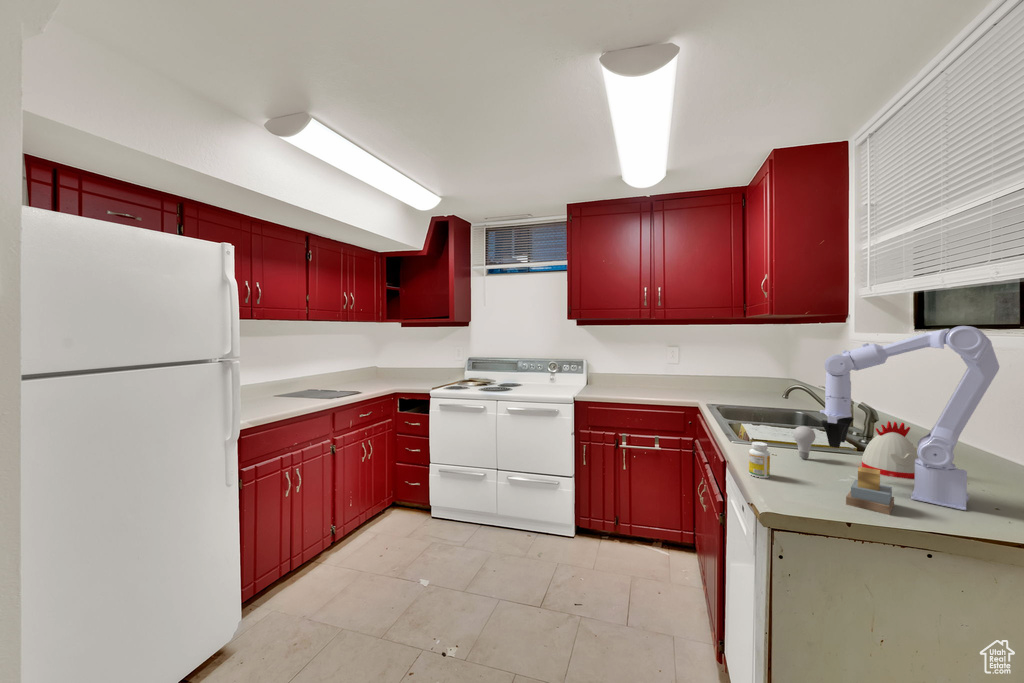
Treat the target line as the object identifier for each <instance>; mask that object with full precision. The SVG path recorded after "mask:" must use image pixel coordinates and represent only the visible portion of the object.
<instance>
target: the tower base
mask: <svg viewBox="0 0 1024 683" xmlns="http://www.w3.org/2000/svg"><path fill="white" fill-rule="evenodd" d="M845 505H847V506H850V507H854V508H859V509H863V510H865V511H866V510H867V511H870V512H876V513H879V514H884V515H888V516H890V515H891V512H892V511H893V508H894V506H895V496H892V498H891V501H890V504H889V505H884V504H880V503H875V502H871V501H866V500H862V499H857V498H853V497H851V490H849V492H848V494H846V496H845Z"/></svg>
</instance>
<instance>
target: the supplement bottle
mask: <svg viewBox="0 0 1024 683" xmlns="http://www.w3.org/2000/svg"><path fill="white" fill-rule="evenodd" d="M770 461H771V452H769V451H768V444H767V443H766V442H762V441H752V442H751V449H749V451H748V474H749V475H750V476H751V475H752V476H751V477H753V476H755V477H754V478H756V477H759V478H758V479H768V478H770V472H771V471H770V469H771V467H770V466H771V464H770V463H771V462H770Z"/></svg>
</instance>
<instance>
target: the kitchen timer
mask: <svg viewBox="0 0 1024 683" xmlns="http://www.w3.org/2000/svg"><path fill="white" fill-rule="evenodd" d="M886 423H887V424H886V425H884V424H881V429H882V431H881V430H879V428H877V427H875V430H876V433H877V435H876V436H874V437H873V438H872V439H871V440H870V441H869V442H868V444H867V445H866V447H865V450H864V452H863V454H862V456H861V467H864V468H871V469H877V470H880V476H881V475H882V476H887V477H890V478H891V477H892V478H899V479H912V480H913V479H914V480H915V459H917V458H919V457H918V454H917V450H918V448H916V447H915V445H914V444H913V443H912V442H911V441H910V440H909V439H908V438H907V437H906V436H907V435H908V433H909V432H910V430H911V427H910V426H907V427H906V428H905V423H904V422H901V423H900V425H899V426H898V423H897V422H896V421H893V423H892V424H893V426H892V424H891V421H890V420H889V421H887V422H886Z"/></svg>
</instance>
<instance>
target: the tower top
mask: <svg viewBox="0 0 1024 683" xmlns="http://www.w3.org/2000/svg"><path fill="white" fill-rule="evenodd" d="M850 491H851V497H853V498H857V499H862V500H866V501H871V502H875V503H880V504H884V505H889V504H890V501H891V498H892V497H893V486H890V485H885V484H880V490H879V491H876V490H871V489H866V488H860V487H858V479H855V480H854V481H853V483H852V484H851V486H850Z"/></svg>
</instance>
